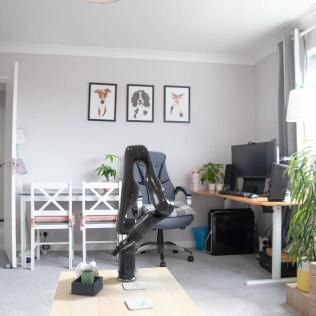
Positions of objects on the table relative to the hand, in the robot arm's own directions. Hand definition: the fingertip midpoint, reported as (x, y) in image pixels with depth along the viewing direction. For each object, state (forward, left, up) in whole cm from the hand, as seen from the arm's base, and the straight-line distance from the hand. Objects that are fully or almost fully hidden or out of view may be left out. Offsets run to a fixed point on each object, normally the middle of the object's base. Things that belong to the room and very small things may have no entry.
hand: (117, 252), depth 164 cm
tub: (-3, -16, -20) cm, 26 cm away
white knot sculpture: (-19, -22, -21) cm, 36 cm away
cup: (-3, -16, -20) cm, 25 cm away
